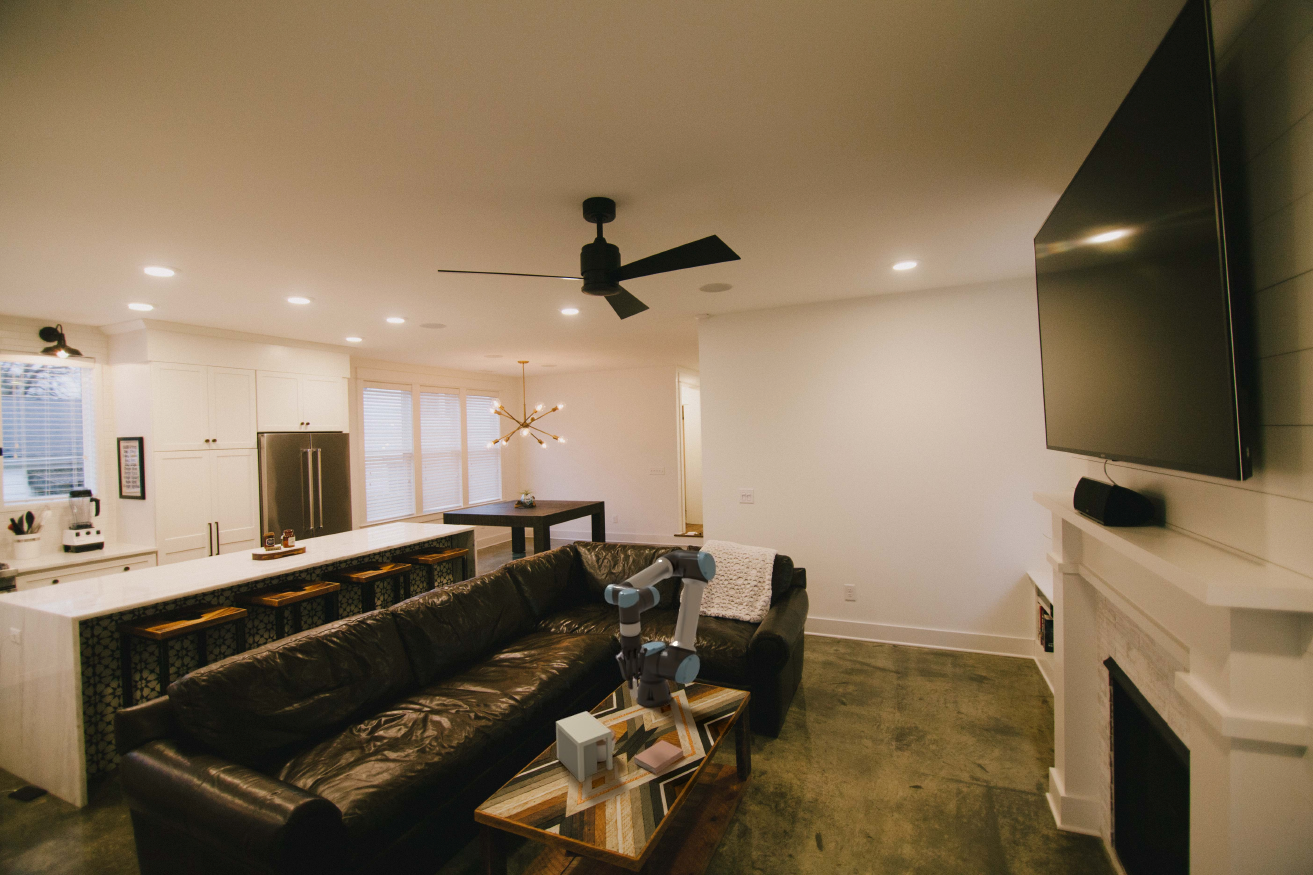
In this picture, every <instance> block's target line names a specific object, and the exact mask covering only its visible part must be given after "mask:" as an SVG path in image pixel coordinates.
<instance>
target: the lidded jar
mask: <svg viewBox="0 0 1313 875" xmlns="http://www.w3.org/2000/svg"><path fill="white" fill-rule="evenodd" d="M606 727H607V728H608V729H609V730H611V734H612V754H613V752H614V751H615V748H616V747H615V746H616V731H615V730H614V729H613V728H611V727H608V726H606ZM596 746H597V763H601V762H606V738H604V739H602V740H599V741H596Z"/></svg>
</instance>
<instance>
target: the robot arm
mask: <svg viewBox="0 0 1313 875" xmlns="http://www.w3.org/2000/svg"><path fill="white" fill-rule="evenodd" d="M716 564H717V563H716V560H715V559H714V555H712V553H709V552H706V551H700V550H699V551H696V550H686V549H678V550H673V551H671V552H669V553H666V554H664V555H662V556H660V557H659V558H657V559H656V560H655V562H654V563H653V564H651V565H650V566H648V567H646V568H645V569H642V570H641V571H639V572H638V573H636V574H634V575H633V576H631V577H629V578H628V579H626V580H624V581H622V582H620V583H619V584H616V583H613V584H612V583H610V584H608V585H607V587H606V588H605V590H604V599H605V601H606V602H607V603H608V604H612V605H613V606H615V605H616V606H618V611H619V612H618V615H619V631H620V635H619V636H620V646H621V648H620V652H619V653H618V654H616V655H614V656H615V659H616V660H617V663H618V666H619V668H620V669H619V670H620V673H621V676H622V679H623V680H625V681H627V687H628V689H629V697H631V698H633V699H635V700H636V703H637V704H638V705H640V706H643V707H647V708H656V707H662V706H665V705H668V704H669V703H671V701H672V692H671V688H670V685H669V683H668V681H670V682H675V683H677V684H684V685H689V684H691V683H693V681H694V680H695V679H696V677H697V675H698V674H699V670H700V668H701V667H700V666H701V662H700V661H701V660H700V658H699V656H698V655H697V649H696V647H695V640H696V634H697V629H698V624H699V623H698V622H699V618H700V612H701V607H702V600H703V594H704V589H705V588H706V587H708V586H709V581H712V580H713V579H714V578H715V576H716V572H717V565H716ZM672 577H681V581H682V582H683V591H682V595H681V600H680V606H679V611H678V617H677V622H676V627H675V633H674V638H673V641H672V642H670V643H669V645H668V648H666V647H667V645H666V643H665V642H664V641H663V642H662V641H651V642H647V643H644V644H642V633H641V631H642V630H641V616H640V614H641V613H643V612H645V611H647V610H650V609H652V608H654V607H655V606H657V605H658V604H659V602H660V597H661V596H660V592H659V590H658V589H657V588H656V587H654V585H656V584H657V583H659V582H660V581H662V580H664V579H669V578H672ZM624 660H625V661H624Z"/></svg>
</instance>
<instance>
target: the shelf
mask: <svg viewBox="0 0 1313 875" xmlns="http://www.w3.org/2000/svg"><path fill="white" fill-rule="evenodd" d="M607 727H608V726H605V725H604V724H603V723H602V722H601V721H599V720H598V719H597V718H595V716H593V715H592V713H590V712H588V711H586V710H585V711H583V712H580V713H577V714H574V715H572V716H568V717H565V718H561V719H560V720H557V721H555V733H556V734H555V735H556V736H555V737H556V758H557V759H558V760H559V762H561V764H562V765H563V766H564V767H565V768H566V769H567V770H568V771H569V772H570V773H571V774H572V775H573V776H574V777H575V778H576V780H577V781H579V783H583V782H585V778H587V777H589V776H592V775H594V774H597V773H598V762H597V746H596V741H599V740H602V739H604V738H606V760H605V762H606V763H605V764H606V769H607V770H608V771H611V770H613V769H614V766H613V764H614V763H613V753H612V734H611V730H609V729H608V728H609V727H608V728H607Z"/></svg>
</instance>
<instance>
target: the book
mask: <svg viewBox="0 0 1313 875" xmlns="http://www.w3.org/2000/svg"><path fill="white" fill-rule="evenodd" d="M682 757H684V749H682V748H680V747H678V746H676V745H673V744H671V743H669V742H668V741H666V740H663V739H661V740H660V741H659V742H656V743H654V744H653V745H652V746H650V747H648V748H646V749H645V750H643V751H642V752H640V753H638V754H636V755H634V757H633V758H634V759H633V760H634V761H633V762H634V764H636V765H638V766H640V767H641V768H644V769H645V770H647V771H648V772H651V773H653V774H654V775H657V774H658V773H659V772H661V771H663V770H664V769H665V768H667V767H669V766H670V765H673V763H675V762H676V761H677V760H679V759H681V758H682Z"/></svg>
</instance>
